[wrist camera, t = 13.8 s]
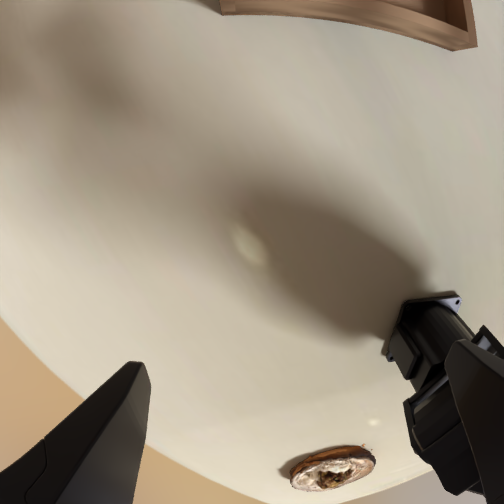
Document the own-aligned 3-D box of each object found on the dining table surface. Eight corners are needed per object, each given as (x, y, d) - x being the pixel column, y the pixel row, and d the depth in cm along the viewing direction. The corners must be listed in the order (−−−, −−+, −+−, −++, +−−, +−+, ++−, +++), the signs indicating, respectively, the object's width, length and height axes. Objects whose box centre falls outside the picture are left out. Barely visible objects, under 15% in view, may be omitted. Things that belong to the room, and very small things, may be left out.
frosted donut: (388, 459, 36) (394, 480, 32) (302, 489, 39) (305, 509, 35) (370, 425, 31) (379, 452, 27) (262, 462, 33) (263, 488, 30)
